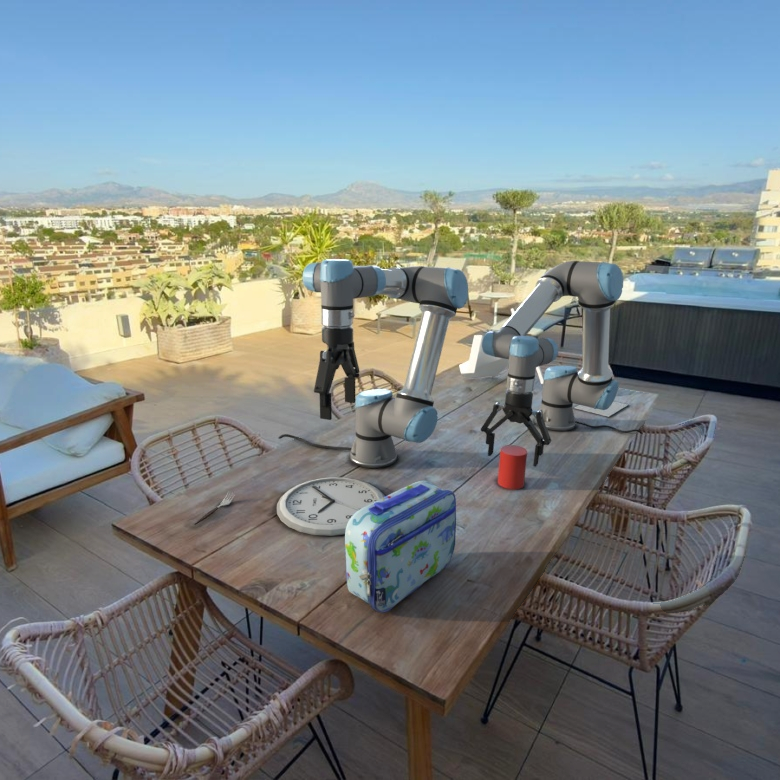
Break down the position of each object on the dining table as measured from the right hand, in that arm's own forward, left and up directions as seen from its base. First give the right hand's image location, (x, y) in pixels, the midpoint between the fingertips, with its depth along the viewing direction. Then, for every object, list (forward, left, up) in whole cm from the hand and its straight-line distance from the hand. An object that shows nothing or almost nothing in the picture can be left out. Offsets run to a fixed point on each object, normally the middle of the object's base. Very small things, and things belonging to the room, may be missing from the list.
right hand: (512, 459), depth 154 cm
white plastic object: (-4, -103, -8) cm, 103 cm away
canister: (0, 0, -8) cm, 8 cm away
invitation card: (-46, -79, -8) cm, 92 cm away
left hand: (+47, +24, +21) cm, 57 cm away
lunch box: (+28, +50, -8) cm, 58 cm away
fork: (+80, +28, -8) cm, 85 cm away
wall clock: (+50, +20, -8) cm, 54 cm away
